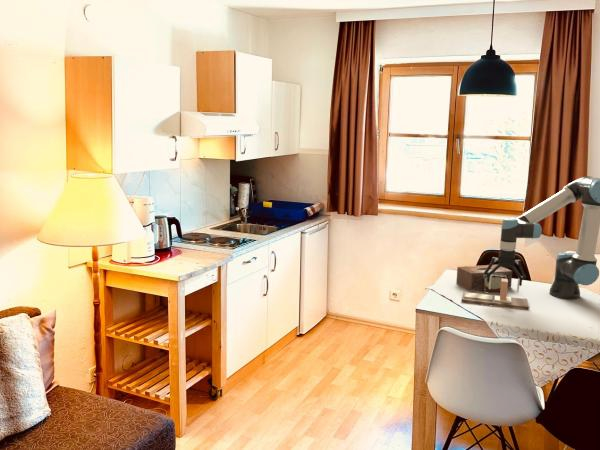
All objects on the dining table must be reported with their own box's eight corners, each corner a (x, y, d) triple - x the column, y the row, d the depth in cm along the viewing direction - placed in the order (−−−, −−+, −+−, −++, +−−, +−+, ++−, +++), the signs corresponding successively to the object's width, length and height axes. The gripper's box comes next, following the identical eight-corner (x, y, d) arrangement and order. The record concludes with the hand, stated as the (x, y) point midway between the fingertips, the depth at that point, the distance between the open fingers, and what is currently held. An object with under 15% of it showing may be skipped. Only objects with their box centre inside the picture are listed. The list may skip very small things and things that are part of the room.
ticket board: (526, 301, 309) (527, 297, 309) (528, 309, 296) (528, 305, 296) (462, 294, 319) (463, 290, 319) (461, 302, 306) (461, 297, 305)
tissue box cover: (470, 291, 327) (471, 273, 325) (456, 283, 341) (457, 266, 339) (510, 288, 335) (512, 271, 333) (495, 281, 348) (496, 264, 346)
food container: (502, 290, 329) (504, 272, 327) (505, 293, 323) (507, 275, 321) (479, 289, 330) (481, 271, 328) (482, 292, 324) (483, 274, 322)
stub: (510, 298, 309) (512, 279, 307) (511, 303, 301) (513, 283, 299) (494, 296, 311) (496, 277, 309) (494, 301, 304) (496, 281, 302)
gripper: (533, 250, 301) (529, 291, 305) (481, 245, 309) (478, 285, 312) (534, 253, 294) (529, 295, 298) (481, 248, 302) (477, 289, 305)
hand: (503, 290), depth 305 cm, fingers open, 13 cm apart
